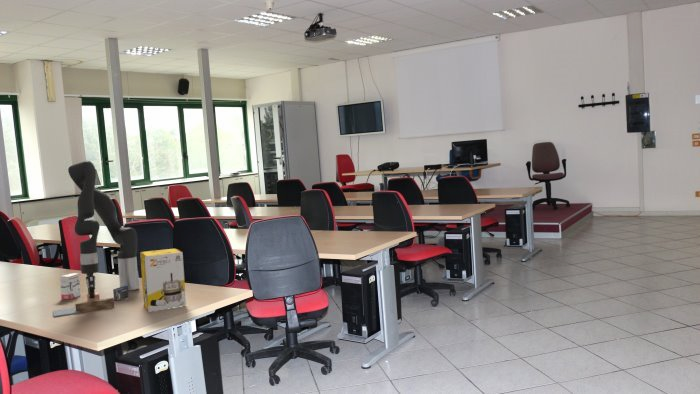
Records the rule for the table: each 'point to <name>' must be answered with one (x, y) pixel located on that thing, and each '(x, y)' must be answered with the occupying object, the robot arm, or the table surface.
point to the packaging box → (163, 279)
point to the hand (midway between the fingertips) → (91, 296)
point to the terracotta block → (93, 298)
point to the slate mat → (65, 312)
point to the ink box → (70, 286)
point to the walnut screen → (94, 305)
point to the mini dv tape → (120, 293)
